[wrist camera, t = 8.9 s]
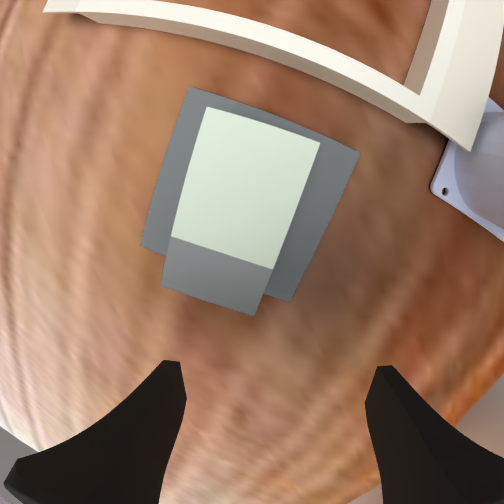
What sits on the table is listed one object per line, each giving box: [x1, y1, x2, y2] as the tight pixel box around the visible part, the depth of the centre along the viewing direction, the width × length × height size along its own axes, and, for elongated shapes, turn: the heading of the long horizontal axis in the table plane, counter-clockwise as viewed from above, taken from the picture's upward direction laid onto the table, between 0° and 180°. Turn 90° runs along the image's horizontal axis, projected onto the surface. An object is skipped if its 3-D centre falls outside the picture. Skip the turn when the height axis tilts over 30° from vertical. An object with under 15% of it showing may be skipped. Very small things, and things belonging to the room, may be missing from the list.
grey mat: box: [140, 87, 360, 303], centre depth 17 cm, size 10×10×1 cm
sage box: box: [160, 107, 320, 316], centre depth 15 cm, size 4×8×5 cm, turn 162°
